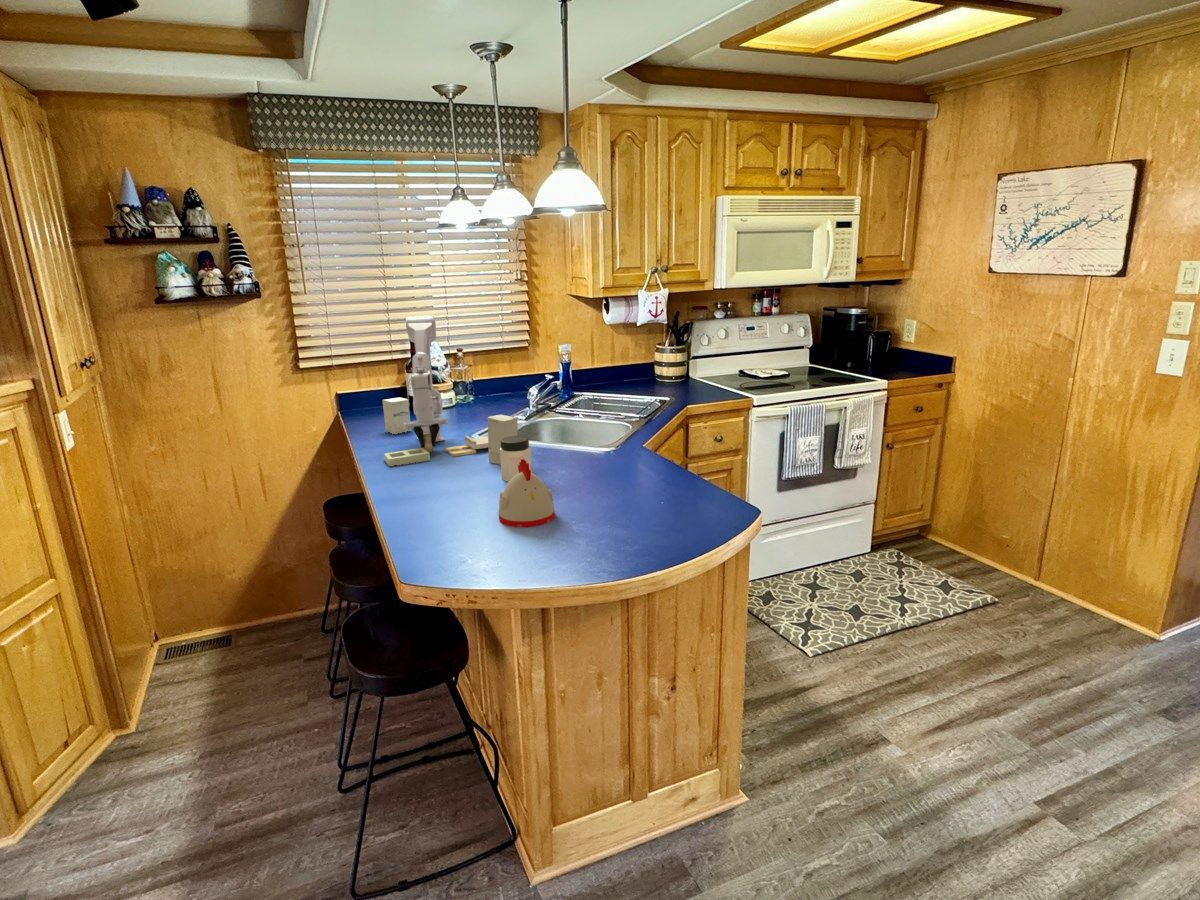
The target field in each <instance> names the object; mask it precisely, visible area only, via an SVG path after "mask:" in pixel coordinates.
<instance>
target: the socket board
mask: <svg viewBox="0 0 1200 900" xmlns="http://www.w3.org/2000/svg"><path fill="white" fill-rule="evenodd" d="M430 453H431V452H428V451H427V450H425V449H424V448H421V447H418V448H412V449H406V450H399V451H391V452H387V453H386V452H385V453H383V460H385V461H386V462H385V461H384V462H385V463H386V465H388V466H389V467H390V466H391V467H395V466H394V465H397V466H402V464H403V465H408V464H409V463H410V464H415V462H416V463H420V462H421V463H422V462H426V461H427V462H428V461H431V454H430ZM410 464H409V465H410Z"/></svg>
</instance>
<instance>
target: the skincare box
mask: <svg viewBox="0 0 1200 900" xmlns="http://www.w3.org/2000/svg"><path fill="white" fill-rule="evenodd" d="M518 429H519V428H518V418H517V417H513V416H510V415H505V414H496V415H489V416H488V417H487V437H488V447H487V448H488V462H489V463H491V464H494V465H495V464H496V465H500V466H501V460H500V449H501V439H503V438H505V437H510V436H519V435H518V431H519V430H518Z"/></svg>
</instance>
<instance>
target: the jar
mask: <svg viewBox="0 0 1200 900" xmlns="http://www.w3.org/2000/svg"><path fill="white" fill-rule="evenodd" d="M531 448H532V447H531V446H530V440H529V437H527V436H525V435H524V436H523V435H518V436H510V437H505V438H503V439H501V449H500V460H501V465H500V471H501V480H503V481H505V482H507V483H508V482H509V481H510V480H511V479H512V478H513V477H514V476H515V475H516V474H518V473H519V471H518V465H519V462H521V459H525V461H526V462H527V463H529V470H531V473H532V474H533V469H532V468H533V465H532V449H531Z"/></svg>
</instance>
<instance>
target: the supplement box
mask: <svg viewBox="0 0 1200 900" xmlns="http://www.w3.org/2000/svg"><path fill="white" fill-rule="evenodd" d="M382 409H383V411H382V412H383V417H384V428H385V432H386V431H387V432H386V433H388V432H390V433H392V434H391V435H393V434H395V435H398V433H399V434H403V433H402V432H405V433H408V432H407V431H411V432H412V428H411V429H408V430H405V429H404V426H403V423H407V422H411V416H410V415H411V414H410V403H409V399H408V398H403V397H399V396H398V397H394V398H387V399H382ZM390 433H389V434H390Z"/></svg>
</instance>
